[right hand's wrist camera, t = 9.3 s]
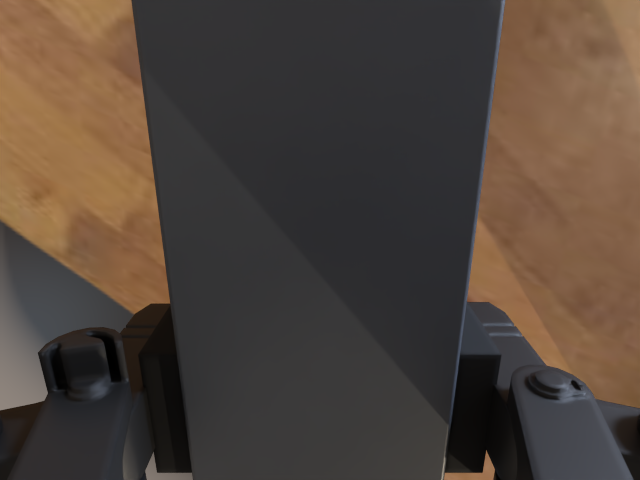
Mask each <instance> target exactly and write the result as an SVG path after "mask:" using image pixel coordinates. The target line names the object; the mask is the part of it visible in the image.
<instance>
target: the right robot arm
mask: <svg viewBox="0 0 640 480" xmlns="http://www.w3.org/2000/svg"><path fill="white" fill-rule="evenodd" d="M38 355H39V359H40V363H41V367H42V371H43V375H44V379H45V383H46V387H47V391H48V395H47V397H46V399H45V401H42V402H38V403H35V404H30V405H25V406H20V407H15V408H10V409H5V410H1V411H0V480H147V479H146V473H145V469H146V467H147V465H148V463H149V460H150V458H151V456H152V454H153V452H154V456H155V462H156V468H157V472H158V473H192V468H191V460H190V452H189V444H188V437H187V429H186V421H185V413H184V406H183V398H182V390H181V382H180V374H179V367H178V359H177V351H176V343H175V335H174V328H173V320H172V312H171V304H150V305H148V306H147V307H145V308H144V309H142V310H140V311H139V312H137V313H136V314H135V315H134V316H133V317H132V319H131V320H130V321H129V322H128V324H127V325H126V328H124V329H123V330H122V331H121V333H120V334H119V333H118V332H117V331H116V330H113V329H109V328H104V327H99V328H86V329H81V330H76V331H72V332H70V333H67V334H64V335H62V336H59V337H57V338H55V339H54V340H52V341H50V342H49V343H47V344H46V345H45V346H44V347H43V348H42V349H41V350H40V351H39V352H38ZM486 450H487V452H488V455H489V457H490V459H491V461H492V464H493V466H494V468H495V473H494V479H493V480H640V408H635V407H630V406H625V405H620V404H615V403H610V402H605V401H602V400H598V399H595V398H594V396H593V394H592V392H591V391H590V390H589V388H588V387H587V386H586V384H585V383H584V382H582V381H581V380H579V379H578V378H576V377H575V376H574V375H572V374H570V373H567V372H565V371H563V370H561V369H558V368H554V367H550V366H546V364H545V363H544V362H543V361H542V359H541V358H540V357H539V355H538V354H537V353H536V352H535V350H534V349H533V348H532V347H531V345H530V344H529V343H528V341H527V340H526V339H525V338H524V336H522V334H521V332H520V331H519V330H518V329H517V327H516V326H514V324H513V322H512V321H511V320H510V318H509V317H508V316H507V315H506V313H505V312H503V311H502V310H500V309H499V308H497V307H495V306H494V305H492V304H491V303H489V302H467V303H466V310H465V318H464V326H463V334H462V342H461V349H460V357H459V365H458V373H457V381H456V389H455V396H454V404H453V412H452V420H451V428H450V435H449V443H448V451H447V459H446V467H445V473H482V472H483V466H484V460H485V454H486Z"/></svg>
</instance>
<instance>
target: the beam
mask: <svg viewBox="0 0 640 480" xmlns="http://www.w3.org/2000/svg"><path fill="white" fill-rule="evenodd" d="M504 6H505V0H132V8H133V16H134V24H135V31H136V39H137V47H138V55H139V63H140V70H141V78H142V86H143V94H144V101H145V109H146V117H147V125H148V133H149V140H150V148H151V156H152V164H153V172H154V179H155V187H156V195H157V203H158V211H159V218H160V226H161V234H162V242H163V250H164V257H165V265H166V273H167V281H168V289H169V296H170V304H171V312H172V320H173V328H174V335H175V343H176V351H177V359H178V367H179V374H180V382H181V390H182V398H183V406H184V413H185V421H186V429H187V437H188V444H189V452H190V460H191V468H192V476H193V480H444V474H445V467H446V459H447V451H448V443H449V435H450V428H451V420H452V412H453V404H454V396H455V389H456V381H457V373H458V365H459V357H460V349H461V342H462V334H463V326H464V318H465V310H466V303H467V295H468V287H469V279H470V271H471V264H472V256H473V248H474V240H475V232H476V225H477V217H478V209H479V201H480V193H481V185H482V178H483V170H484V162H485V154H486V146H487V139H488V131H489V123H490V115H491V107H492V100H493V92H494V84H495V76H496V68H497V60H498V53H499V45H500V37H501V29H502V21H503V14H504Z"/></svg>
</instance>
